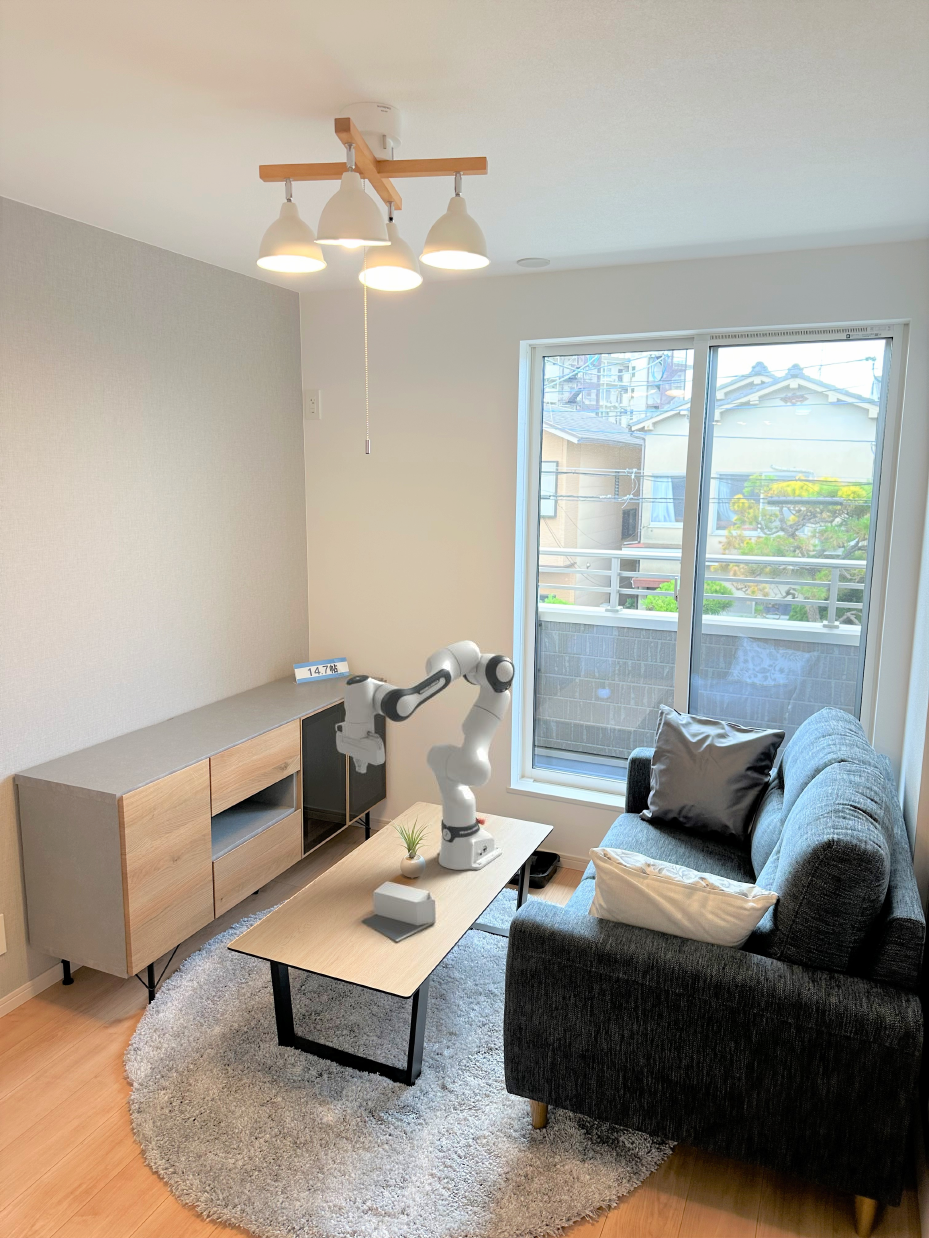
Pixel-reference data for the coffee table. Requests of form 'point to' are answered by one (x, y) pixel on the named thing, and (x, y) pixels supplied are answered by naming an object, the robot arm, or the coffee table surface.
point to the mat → (393, 927)
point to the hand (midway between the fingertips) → (361, 771)
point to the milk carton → (404, 904)
